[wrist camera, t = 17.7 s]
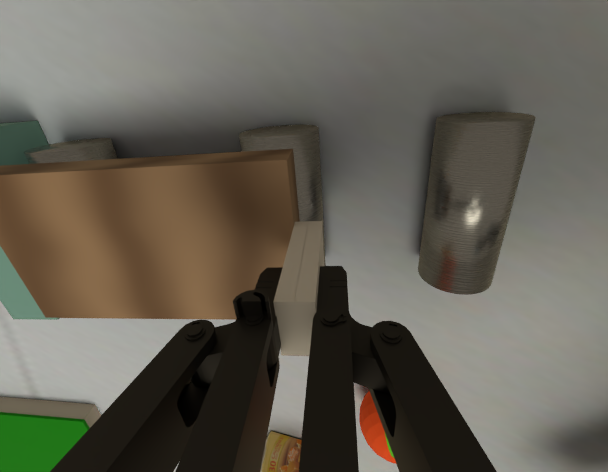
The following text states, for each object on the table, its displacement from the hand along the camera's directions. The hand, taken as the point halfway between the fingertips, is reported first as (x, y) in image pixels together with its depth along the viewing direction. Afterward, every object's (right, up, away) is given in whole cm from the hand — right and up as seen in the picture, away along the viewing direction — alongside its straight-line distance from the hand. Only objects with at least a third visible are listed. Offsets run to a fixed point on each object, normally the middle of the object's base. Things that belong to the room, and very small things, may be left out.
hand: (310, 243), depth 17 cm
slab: (-10, +1, +3) cm, 10 cm away
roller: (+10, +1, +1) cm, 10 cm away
